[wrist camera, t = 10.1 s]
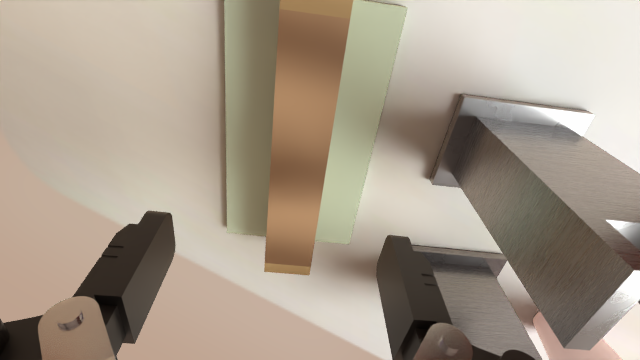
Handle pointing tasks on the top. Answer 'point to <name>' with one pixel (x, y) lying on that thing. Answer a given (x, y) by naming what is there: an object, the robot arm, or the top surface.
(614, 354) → the smoothie
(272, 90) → the mat
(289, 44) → the rail
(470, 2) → the top surface
